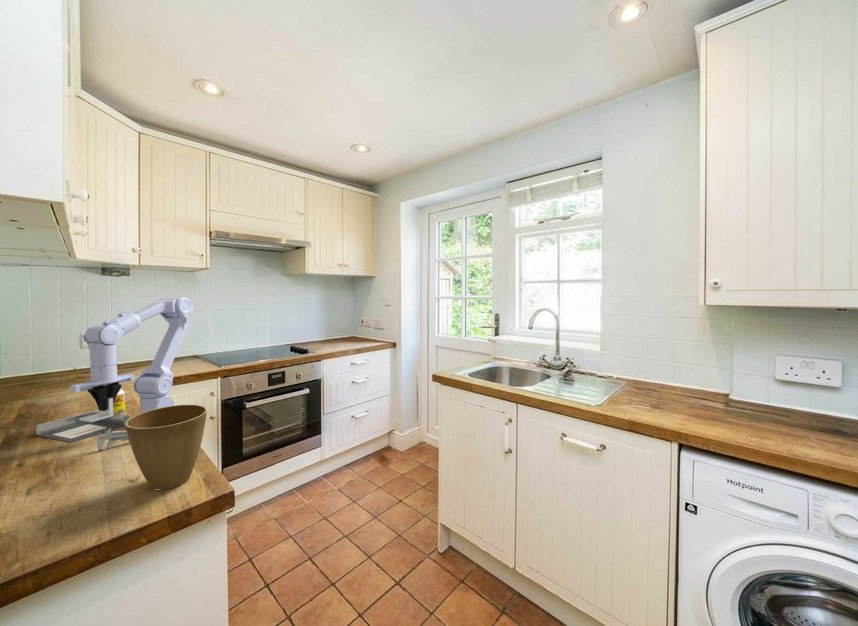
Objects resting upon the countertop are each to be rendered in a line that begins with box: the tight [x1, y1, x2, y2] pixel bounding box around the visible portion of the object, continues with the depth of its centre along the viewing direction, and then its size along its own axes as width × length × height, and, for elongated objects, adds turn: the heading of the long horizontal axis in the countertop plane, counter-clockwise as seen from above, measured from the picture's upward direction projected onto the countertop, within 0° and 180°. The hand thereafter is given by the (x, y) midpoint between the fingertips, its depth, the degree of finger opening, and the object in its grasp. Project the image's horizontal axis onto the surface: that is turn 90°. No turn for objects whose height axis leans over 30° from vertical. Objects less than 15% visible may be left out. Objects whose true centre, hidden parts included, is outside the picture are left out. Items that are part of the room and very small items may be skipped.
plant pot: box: [124, 404, 208, 490], centre depth 78 cm, size 15×15×16 cm
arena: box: [35, 409, 130, 444], centre depth 109 cm, size 16×15×3 cm
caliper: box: [97, 428, 129, 452], centre depth 102 cm, size 20×1×6 cm, turn 143°
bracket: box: [79, 397, 114, 422], centre depth 100 cm, size 6×5×6 cm
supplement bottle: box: [113, 387, 126, 414], centre depth 123 cm, size 6×6×10 cm
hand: (105, 409), depth 102 cm, fingers closed on bracket
